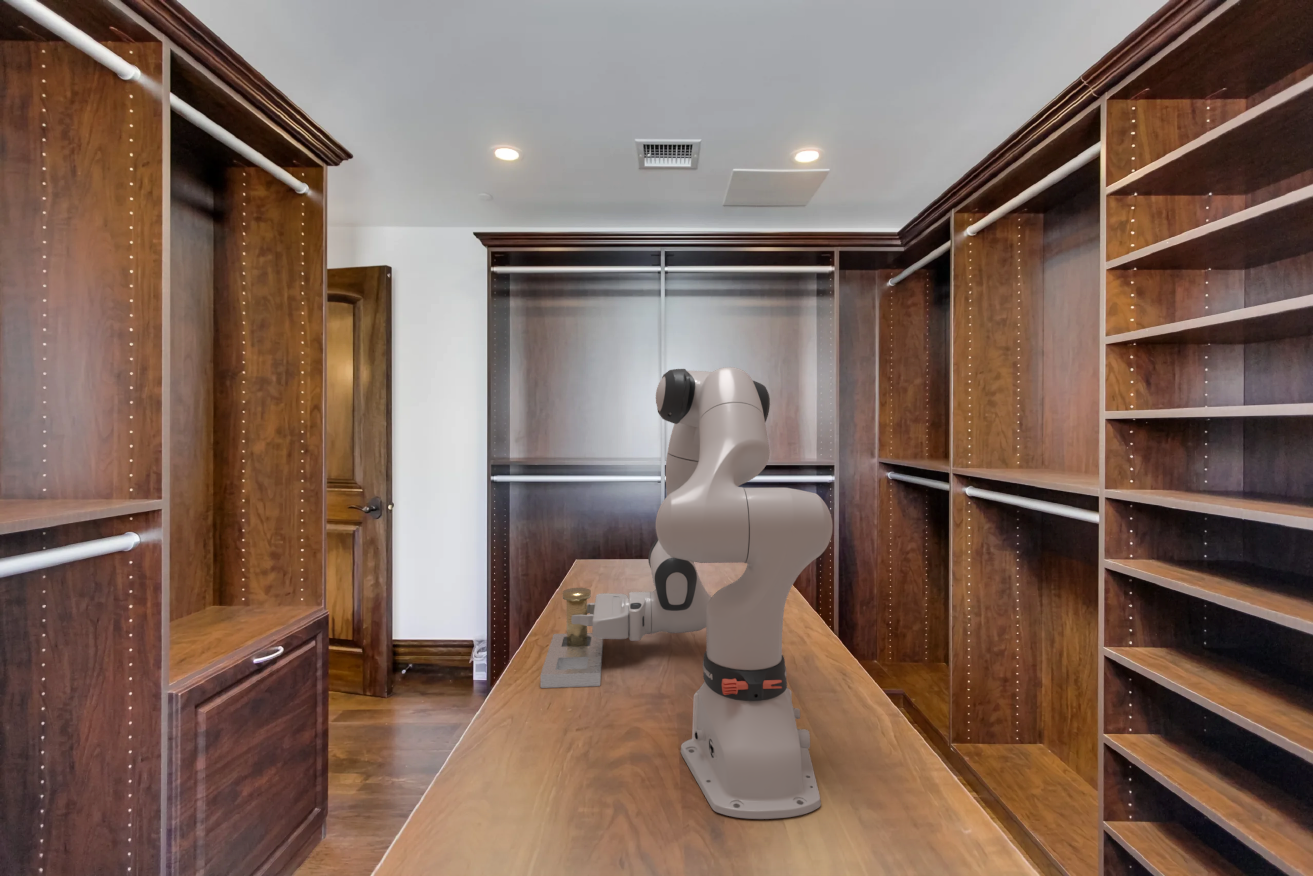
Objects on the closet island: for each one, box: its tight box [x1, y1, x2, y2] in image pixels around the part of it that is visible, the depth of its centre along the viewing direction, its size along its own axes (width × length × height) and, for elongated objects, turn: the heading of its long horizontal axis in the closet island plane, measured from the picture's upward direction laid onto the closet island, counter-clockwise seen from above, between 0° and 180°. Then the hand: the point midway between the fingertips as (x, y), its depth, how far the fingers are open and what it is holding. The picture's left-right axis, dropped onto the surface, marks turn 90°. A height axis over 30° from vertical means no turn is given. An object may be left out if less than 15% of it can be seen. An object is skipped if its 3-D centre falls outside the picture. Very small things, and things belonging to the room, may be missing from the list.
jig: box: [540, 632, 604, 689], centre depth 119 cm, size 22×11×2 cm, turn 4°
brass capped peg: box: [562, 587, 592, 647], centre depth 125 cm, size 6×6×12 cm
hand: (572, 614), depth 125 cm, fingers closed on brass capped peg, 4 cm apart
